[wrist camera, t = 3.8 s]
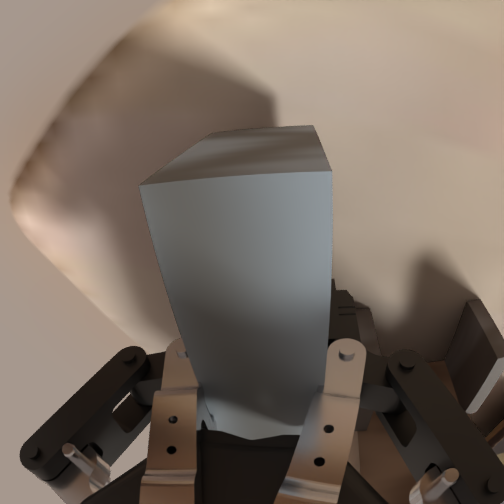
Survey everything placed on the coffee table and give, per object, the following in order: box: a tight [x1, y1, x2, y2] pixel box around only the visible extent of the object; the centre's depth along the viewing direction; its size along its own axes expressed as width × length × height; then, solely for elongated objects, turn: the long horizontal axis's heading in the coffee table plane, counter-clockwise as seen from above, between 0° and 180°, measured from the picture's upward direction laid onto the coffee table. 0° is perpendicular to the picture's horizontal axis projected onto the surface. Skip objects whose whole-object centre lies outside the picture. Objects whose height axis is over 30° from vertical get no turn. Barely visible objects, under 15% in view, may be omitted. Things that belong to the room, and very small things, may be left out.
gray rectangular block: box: [139, 125, 333, 440], centre depth 12 cm, size 4×16×6 cm, turn 6°
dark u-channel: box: [348, 299, 504, 504], centre depth 12 cm, size 8×12×14 cm, turn 6°
